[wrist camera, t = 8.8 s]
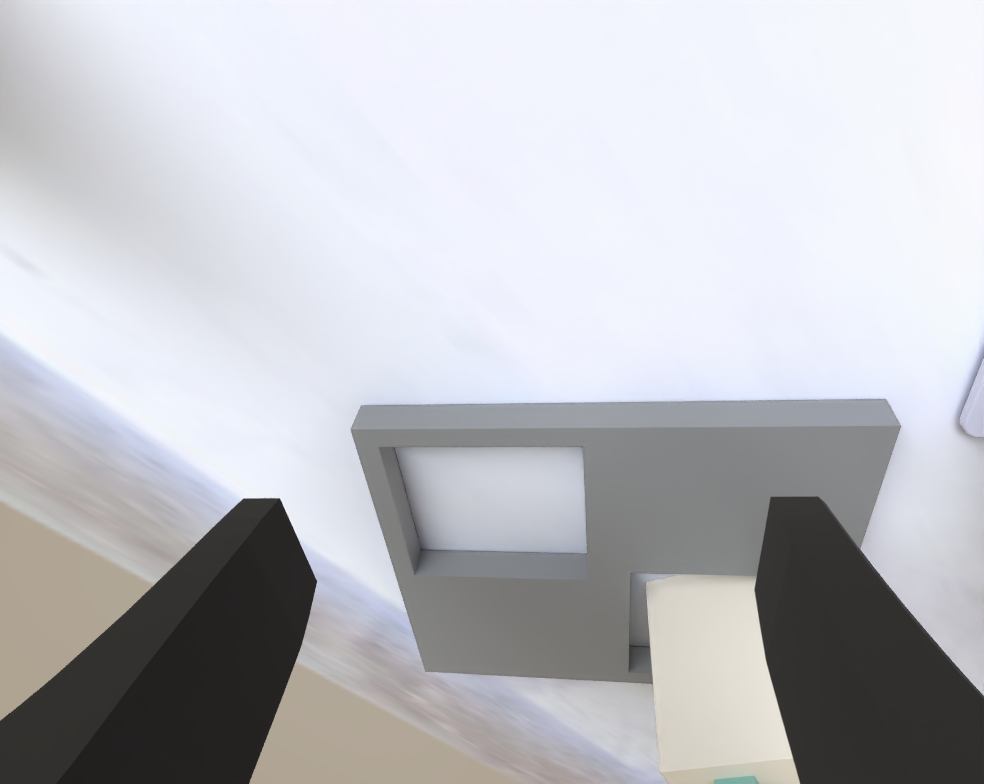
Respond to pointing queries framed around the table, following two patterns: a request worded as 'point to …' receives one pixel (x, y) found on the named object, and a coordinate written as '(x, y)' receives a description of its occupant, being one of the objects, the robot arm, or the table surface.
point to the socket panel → (614, 517)
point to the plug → (714, 684)
